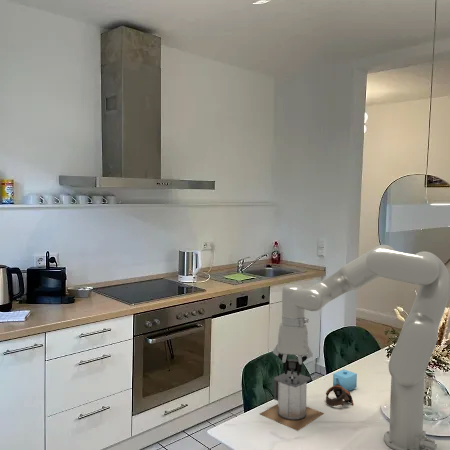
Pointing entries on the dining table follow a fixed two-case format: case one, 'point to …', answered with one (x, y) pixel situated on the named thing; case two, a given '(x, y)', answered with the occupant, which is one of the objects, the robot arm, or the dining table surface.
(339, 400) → the brown curved piece
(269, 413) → the walnut board
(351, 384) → the blue square teapot
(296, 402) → the press carafe
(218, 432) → the dining table surface
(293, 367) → the plunger
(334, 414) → the dining table surface
